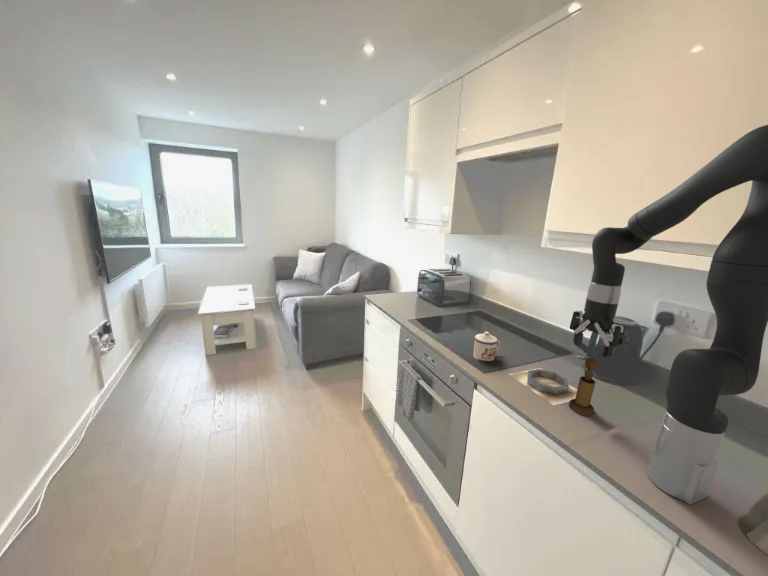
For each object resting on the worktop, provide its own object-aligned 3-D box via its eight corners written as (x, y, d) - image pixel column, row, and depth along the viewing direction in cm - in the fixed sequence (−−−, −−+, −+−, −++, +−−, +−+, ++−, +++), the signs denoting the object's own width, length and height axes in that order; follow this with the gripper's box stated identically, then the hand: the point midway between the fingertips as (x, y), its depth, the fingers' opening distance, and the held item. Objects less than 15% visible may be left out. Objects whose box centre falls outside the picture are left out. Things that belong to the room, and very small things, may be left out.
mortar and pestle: (591, 421, 91) (604, 366, 86) (566, 412, 94) (578, 359, 90) (593, 410, 96) (605, 358, 91) (569, 402, 100) (580, 352, 95)
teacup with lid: (481, 364, 123) (485, 337, 120) (468, 354, 131) (470, 329, 128) (505, 360, 127) (509, 334, 124) (490, 351, 135) (493, 326, 132)
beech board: (588, 399, 102) (589, 396, 102) (552, 408, 96) (553, 405, 96) (540, 370, 120) (540, 367, 120) (507, 376, 114) (508, 373, 114)
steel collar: (575, 391, 104) (576, 384, 104) (547, 397, 100) (549, 390, 99) (545, 373, 116) (546, 367, 115) (519, 378, 111) (520, 372, 111)
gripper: (638, 305, 82) (624, 360, 86) (588, 291, 95) (577, 340, 99) (619, 307, 79) (605, 363, 83) (570, 293, 92) (560, 342, 96)
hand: (590, 350), depth 91 cm, fingers open, 8 cm apart
